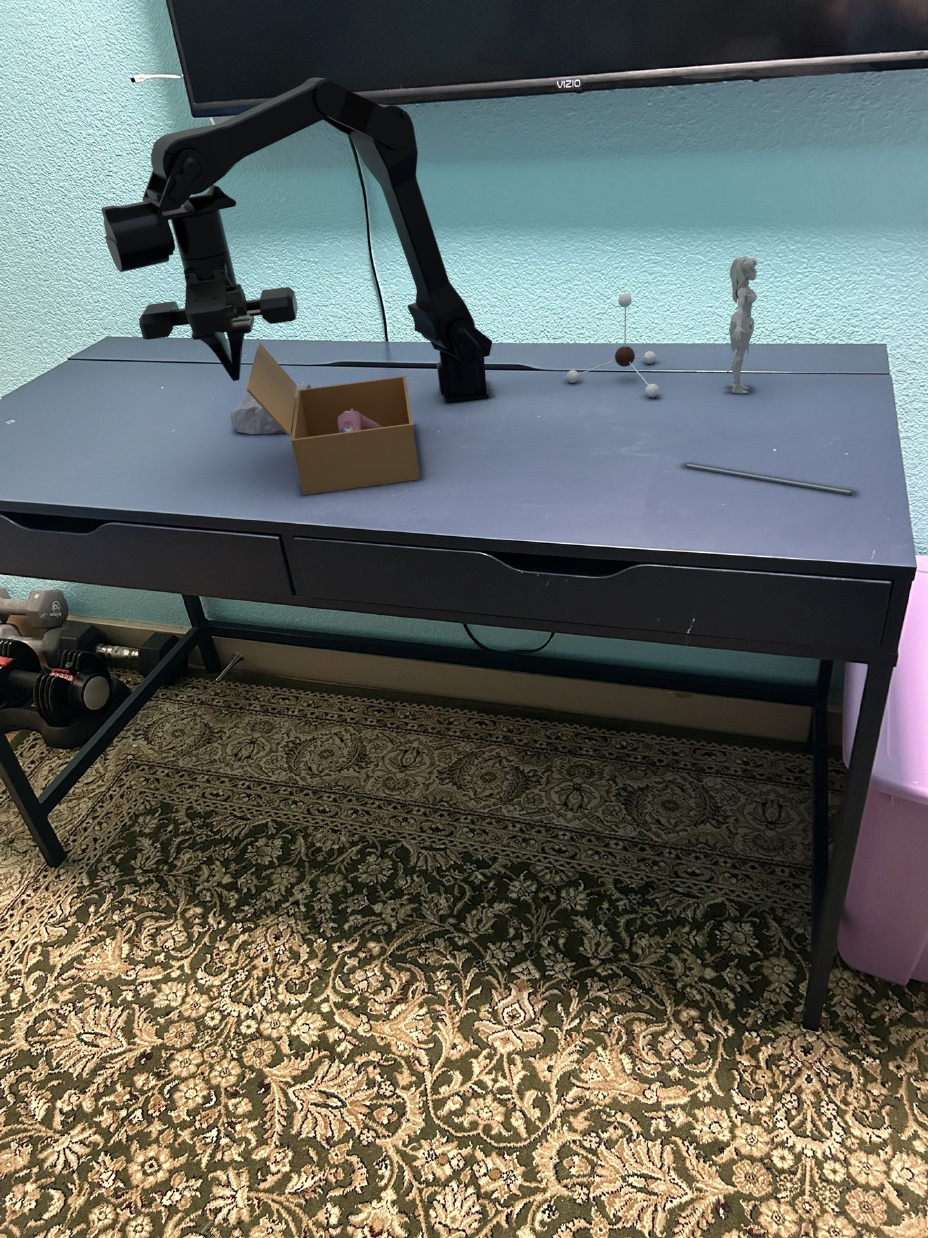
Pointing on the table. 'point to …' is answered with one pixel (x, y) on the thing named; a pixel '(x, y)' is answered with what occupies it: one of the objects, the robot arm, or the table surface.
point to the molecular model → (624, 355)
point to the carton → (354, 436)
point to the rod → (770, 479)
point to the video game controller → (355, 422)
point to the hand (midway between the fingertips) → (236, 379)
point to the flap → (272, 389)
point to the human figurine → (741, 315)
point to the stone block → (257, 417)
